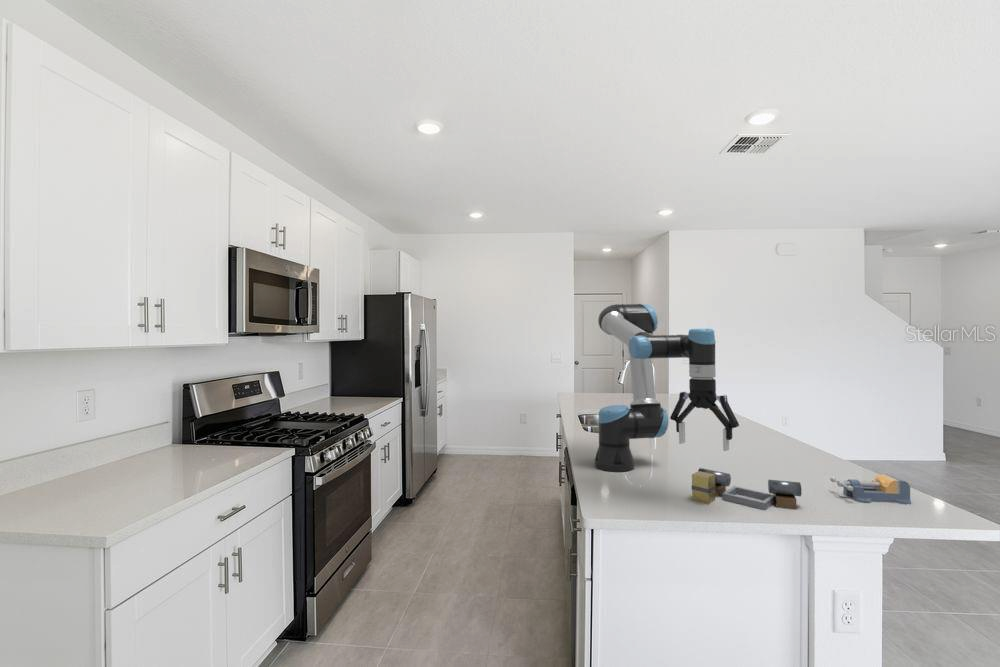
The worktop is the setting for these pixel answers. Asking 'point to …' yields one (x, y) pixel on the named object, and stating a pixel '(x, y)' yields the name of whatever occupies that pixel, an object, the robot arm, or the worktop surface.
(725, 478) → the shaft
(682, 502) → the worktop surface
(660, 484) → the worktop surface
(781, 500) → the shaft
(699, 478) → the gold rectangular block
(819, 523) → the worktop surface
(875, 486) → the vise
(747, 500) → the cradle
